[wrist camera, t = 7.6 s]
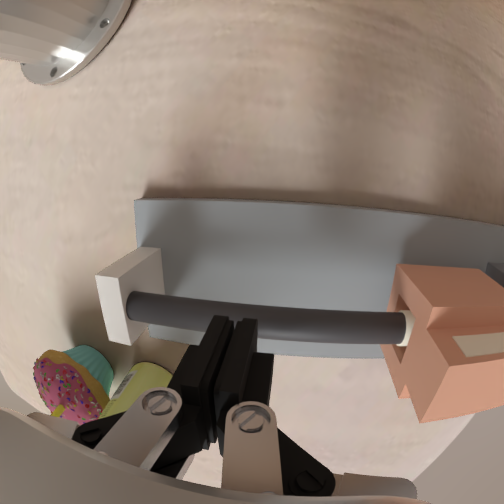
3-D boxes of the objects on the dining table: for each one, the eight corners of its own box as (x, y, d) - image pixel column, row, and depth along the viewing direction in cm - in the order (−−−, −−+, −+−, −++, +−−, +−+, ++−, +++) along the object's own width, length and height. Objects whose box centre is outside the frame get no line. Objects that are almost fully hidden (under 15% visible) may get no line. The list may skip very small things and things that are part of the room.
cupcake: (87, 315, 22) (-4, 397, 11) (147, 387, 23) (86, 485, 12) (53, 343, 24) (-17, 407, 13) (102, 402, 26) (49, 476, 14)
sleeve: (378, 341, 16) (410, 437, 9) (396, 263, 14) (459, 342, 7) (456, 339, 15) (505, 415, 8) (478, 268, 13) (552, 330, 6)
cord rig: (155, 330, 21) (102, 398, 13) (141, 198, 18) (56, 225, 10) (482, 344, 17) (525, 405, 10) (516, 228, 14) (587, 263, 7)
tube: (196, 402, 23) (113, 592, 4) (154, 406, 24) (66, 564, 6) (162, 355, 22) (35, 557, 3) (121, 363, 23) (1, 523, 4)
